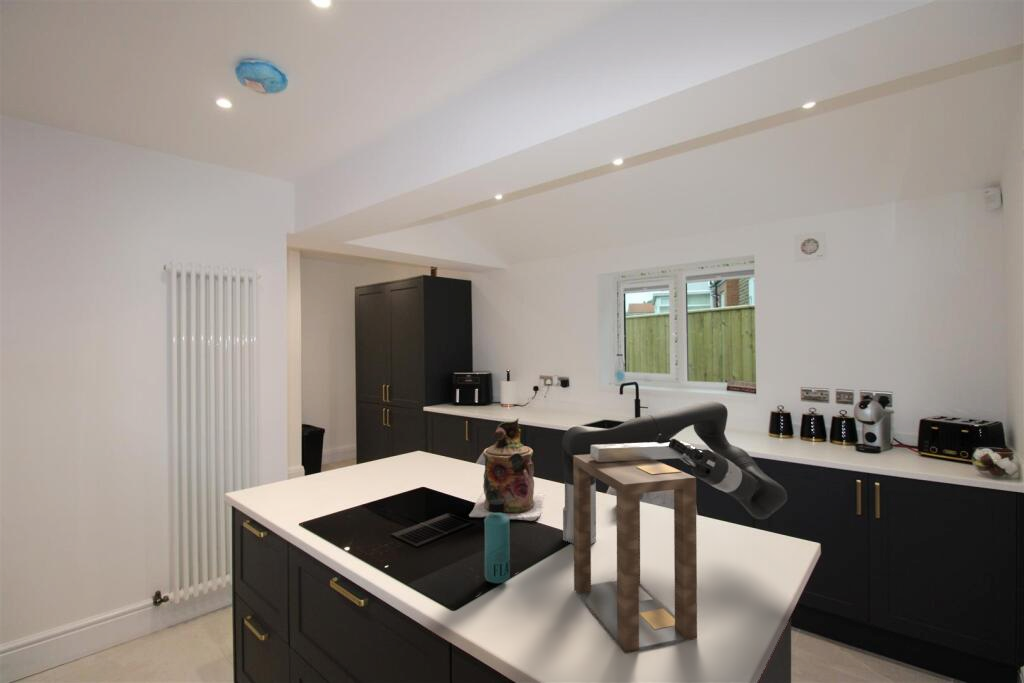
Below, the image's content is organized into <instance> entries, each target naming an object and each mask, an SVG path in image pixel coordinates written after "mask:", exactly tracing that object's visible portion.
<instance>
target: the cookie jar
mask: <svg viewBox="0 0 1024 683" xmlns="http://www.w3.org/2000/svg"><path fill="white" fill-rule="evenodd" d="M519 420H520V418H519V417H518V418H516V419H515V420H511V421H509V420H508V421H503V422H501V423H500V424H499V425H498V426H497V427H496V428H495V429H496V430H495V432H494V433H493V437H494V438H495V440H497V441H496V442H495V443H494V444H493V445H491V446H489V447H487V448H484V450H483V453H482V456H483V458H484V459H485V460H484V472H483V486H482V487H483V492H482V493H480V496H479V498H478V499H477V501H476V503H475V504H474V507H473V509H472V510H471V512H470V513H469V514H468V516H469V518H486V517H487V516H488V515H489V514H491V513H493V512H490V511H489V502H490V501H492V500H503V501H504V502H505V511H504V512H500V513H503V514H505V515H506V516H507V517H508V518H509V520H520V521H530V522H532V521H535V520H536V519H537V518H539V517H541V515H542V513H543V509H544V499H545V496H546V493H545V492H539V493H536V492H535V493H534V491H535V490H534V488H535V480H534V474H535V473H534V463H533V462H532V456H533V454H534V450H533V449H532V448H531V447H530V446H525V445H524V444H523V443H521V441H520V436H521V429H520V425H519Z"/></svg>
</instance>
